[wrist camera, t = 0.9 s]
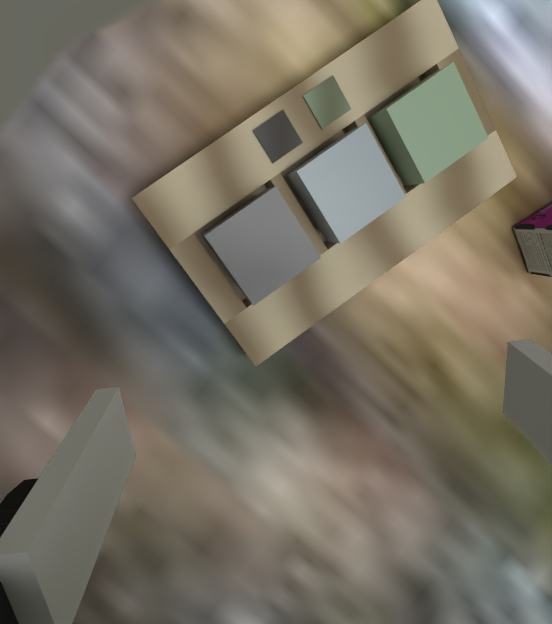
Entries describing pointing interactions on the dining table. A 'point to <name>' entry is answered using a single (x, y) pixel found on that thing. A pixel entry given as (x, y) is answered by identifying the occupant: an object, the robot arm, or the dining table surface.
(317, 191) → the key slate
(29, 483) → the robot arm
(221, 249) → the key charcoal
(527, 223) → the candy bar box
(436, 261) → the dining table surface
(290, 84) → the dining table surface
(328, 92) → the keypad
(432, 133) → the key sage
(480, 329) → the dining table surface
